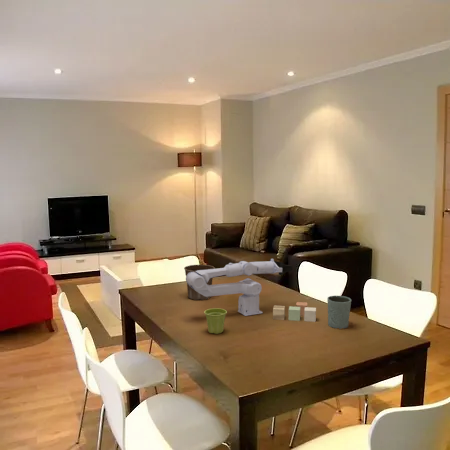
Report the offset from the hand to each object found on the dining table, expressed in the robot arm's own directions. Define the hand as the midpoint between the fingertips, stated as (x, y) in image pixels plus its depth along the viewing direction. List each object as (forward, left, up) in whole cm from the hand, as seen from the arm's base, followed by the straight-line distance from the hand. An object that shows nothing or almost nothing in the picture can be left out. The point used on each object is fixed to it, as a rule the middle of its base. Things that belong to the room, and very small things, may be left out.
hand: (287, 266), depth 224 cm
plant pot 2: (-46, -15, -21) cm, 52 cm away
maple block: (-12, -12, -21) cm, 27 cm away
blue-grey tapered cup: (+5, -32, -21) cm, 38 cm away
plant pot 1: (-32, +36, -21) cm, 52 cm away
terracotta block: (0, -12, -21) cm, 24 cm away
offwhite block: (-1, -20, -21) cm, 29 cm away
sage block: (-7, -16, -21) cm, 27 cm away
